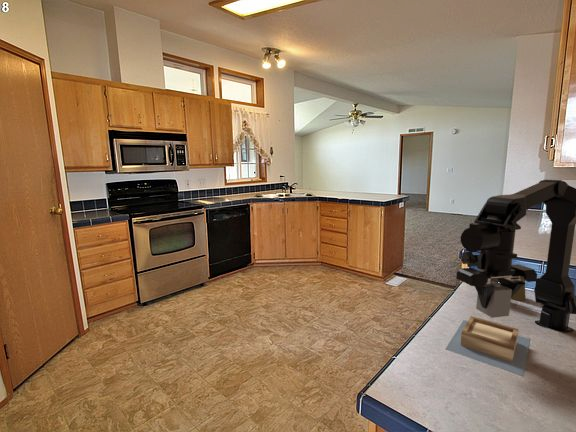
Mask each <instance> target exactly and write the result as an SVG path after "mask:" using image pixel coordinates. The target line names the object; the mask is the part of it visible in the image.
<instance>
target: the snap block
mask: <svg viewBox="0 0 576 432" xmlns="http://www.w3.org/2000/svg"><path fill="white" fill-rule="evenodd" d="M490 284H491V285H493V286H495V287H494V290H493V293H492V296H491V298H490V301H489V304H488V306H487V308H483V307H482V306H481V302H480V299H479V296H478V295H477V296H476V307H475V310H477V311H479V312H481V313H482V314H484V315H485V316H486V315H487V316H488V317H490V318H491V319H493V318H501V317H509V316H510V310H511V302H512V301H511V300H512V299H511V294H512V289H510V288H508V287H505V286H503V285H501V284H500V283H499V281H498V282H490Z"/></svg>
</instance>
